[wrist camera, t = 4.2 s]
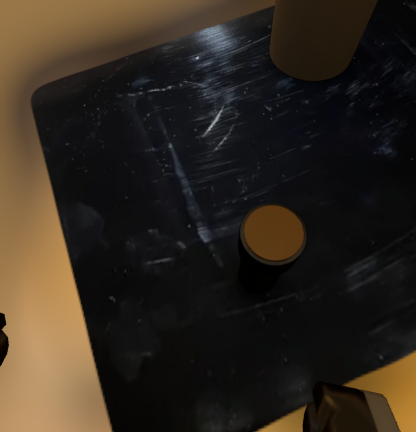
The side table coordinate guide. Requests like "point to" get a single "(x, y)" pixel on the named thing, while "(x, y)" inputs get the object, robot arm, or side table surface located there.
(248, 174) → the side table surface
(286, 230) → the torch
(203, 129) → the side table surface
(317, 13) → the bottle
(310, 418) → the robot arm
